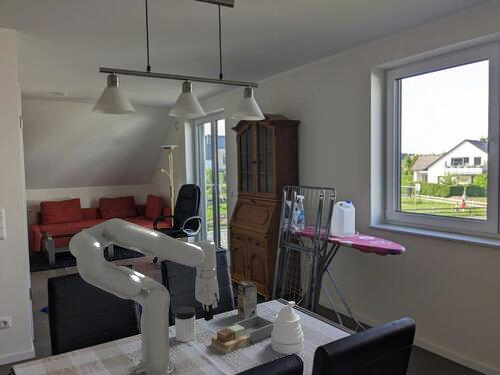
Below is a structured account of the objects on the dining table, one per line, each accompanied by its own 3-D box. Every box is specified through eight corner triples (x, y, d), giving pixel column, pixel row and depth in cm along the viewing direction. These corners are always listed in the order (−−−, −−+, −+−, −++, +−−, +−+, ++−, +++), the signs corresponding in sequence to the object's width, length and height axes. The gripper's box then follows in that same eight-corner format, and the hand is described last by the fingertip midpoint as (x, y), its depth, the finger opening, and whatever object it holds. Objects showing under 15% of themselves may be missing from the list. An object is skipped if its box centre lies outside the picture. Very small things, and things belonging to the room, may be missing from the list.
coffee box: (237, 314, 192) (236, 281, 191) (249, 311, 195) (248, 279, 194) (245, 320, 184) (244, 286, 183) (257, 318, 187) (256, 284, 186)
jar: (180, 344, 161) (179, 315, 161) (172, 337, 168) (171, 309, 167) (199, 338, 166) (199, 310, 165) (191, 331, 173) (190, 304, 172)
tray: (251, 344, 159) (251, 332, 159) (233, 335, 169) (233, 323, 168) (276, 334, 169) (276, 322, 168) (257, 325, 178) (257, 315, 177)
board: (226, 353, 152) (226, 346, 152) (211, 344, 160) (211, 337, 160) (250, 343, 160) (250, 336, 160) (234, 336, 168) (234, 329, 168)
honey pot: (305, 340, 162) (305, 297, 161) (301, 355, 150) (300, 309, 149) (275, 337, 166) (274, 295, 164) (268, 352, 153) (267, 306, 152)
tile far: (235, 338, 158) (235, 331, 158) (227, 334, 162) (227, 327, 162) (245, 335, 162) (244, 327, 161) (237, 331, 165) (237, 324, 165)
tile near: (224, 343, 155) (224, 335, 155) (217, 338, 159) (216, 331, 158) (234, 339, 158) (234, 331, 158) (226, 335, 162) (226, 328, 162)
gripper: (187, 271, 154) (190, 317, 156) (209, 279, 143) (212, 328, 144) (203, 267, 159) (205, 311, 161) (226, 274, 148) (228, 322, 149)
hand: (208, 319), depth 152 cm, fingers closed
